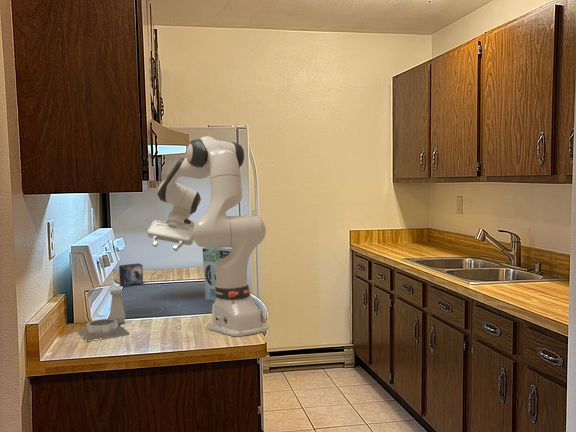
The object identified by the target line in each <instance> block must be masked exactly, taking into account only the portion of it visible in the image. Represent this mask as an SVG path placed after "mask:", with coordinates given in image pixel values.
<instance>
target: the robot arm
mask: <svg viewBox="0 0 576 432" xmlns="http://www.w3.org/2000/svg"><path fill="white" fill-rule="evenodd" d="M244 161H245V150H244V148H243V146H242V145H241V144H239V143H237V142H233V141H232V142H230V141H229V142H228V141H225V140H218V139H216V138H215V137H213V136H209V135H205V136H202V137H200V138H198V139H192V140H190V141H189V143H188V145H187V148H186V157H180V159H179V160H178V161H177V162H176V163H175V165H174V166H173V167H172V168H171V171H170V172H169V173H168V175H167V176H166V177H165V179H164V180H163V181H162V182H160V184H159V186H158V189H157V192H156V194H157V197H158V199H159V200H160V201H162V202H164V203H167V204H170V205H173V206H172V210H171V211H170V212H169V213H168V215H167V218H166V220H161V219H155V220H153V221H152V222H151V224H150V225H149V227H148V229H147V230H146V233H147V237H149V238H151V239H152V240H153V241H152V242H153V243H151V244H152V247H153V248H154V247H155V248H157V246H158V240H160V241H165V242H170V243H175V244H176V245H174V246H173V251H175V252H178V250H179V249H180V248H182V247H183V246H184V245H186V246H192V245H193V243H195V244H196V245H197V246H198V247H200V248H230V249H231V248H232V252H231V253H230V254H229V255H228V256H226V257H225V258H223V259H221V260H220V261H219V262H218V263H217V265H216V268H215V270H216V287H215V296H216V300H215V301H213V303H212V308H211V311H212V312H211V324H209V325H208V330H211V331H215V332H217V333H221V334H225V335H227V336H231V337H243V336H248V335H255V334H260V333H263V332H266V331H268V330H269V326H268V325H267V324H266V323H264V322H263V321H262V317H261V316H262V308H260V307H257V306H256V303H255V302H254V300H253V299H252V297H251V289H250V287H249V286H250V285H249V284H248V263H249V259H250V257H251V254H252V253H253V251H254V250H255V249H256V248H257V247H258V246H259V245H260V244H261V243H263V241H264V239H265V237H266V232H267V231H266V230H267V229H266V225H265V223H264V221H263V220H262V219H261V218H260V217H258V216H253V215H232V216H228V215H227V214H226V213H227V212H228V211H229V210H230V209H232V208H234V207H236V206H237V205H238V204H240V202H241V201H242V199H243V189H242V177H241V169H240V168H241V167H242V165H243V164H244ZM180 177H187V178H191V179H197V180H200V179H201V180H202V179H206V178H208V177H209V179H210V201H209V206H208V208H207V210H206V211H205V212H204V214H203V215H202V216H201V217H200V218H199V219H198V220H197V221H196V222H195V223H194V221H192V220H191V219H190V216H192V215H193V214H194V213H196V212H197V209H198V206H199V205H200V203H201V199H202V198H201V195H200V193H199V192H198V191H197V190H195V189H193V188H191V187H188V186H186V185H184V184H182V183H180V182H177V180H178V178H180Z"/></svg>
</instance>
